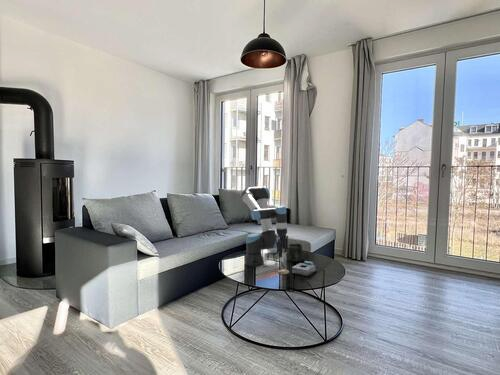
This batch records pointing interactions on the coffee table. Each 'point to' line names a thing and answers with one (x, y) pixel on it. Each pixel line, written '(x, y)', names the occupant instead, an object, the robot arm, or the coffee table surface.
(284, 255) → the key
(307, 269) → the block
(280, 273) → the coaster
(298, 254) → the mug
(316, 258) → the coffee table surface
